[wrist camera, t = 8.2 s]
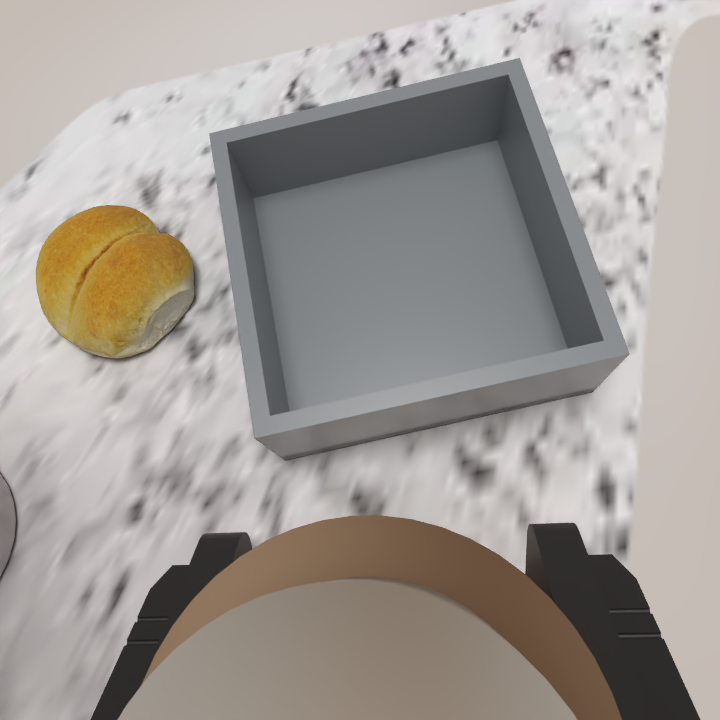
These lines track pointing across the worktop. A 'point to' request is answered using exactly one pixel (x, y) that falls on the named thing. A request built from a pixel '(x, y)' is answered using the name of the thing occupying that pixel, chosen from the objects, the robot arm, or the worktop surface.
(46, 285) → the bread roll
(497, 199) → the bin
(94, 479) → the worktop surface
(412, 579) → the pepper mill
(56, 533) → the worktop surface
